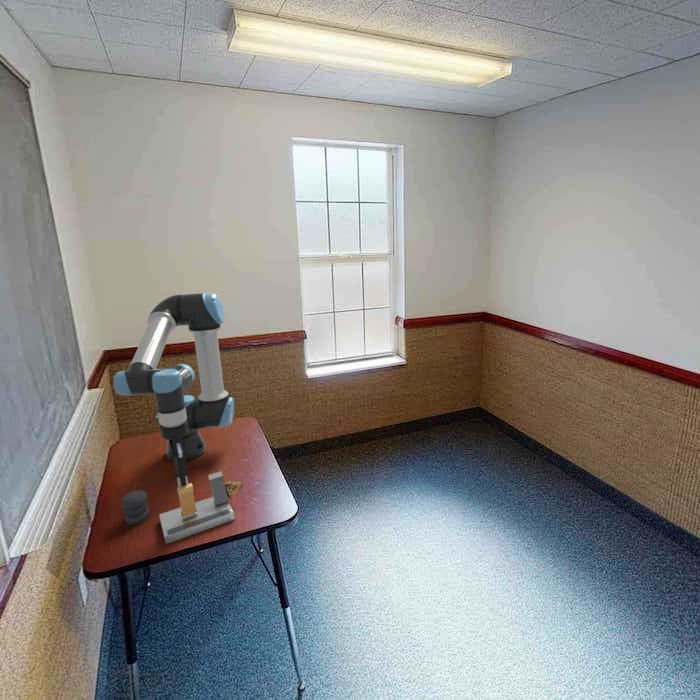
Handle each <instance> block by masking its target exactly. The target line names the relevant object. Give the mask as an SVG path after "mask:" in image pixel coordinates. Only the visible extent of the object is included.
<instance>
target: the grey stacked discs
mask: <svg viewBox="0 0 700 700" xmlns="http://www.w3.org/2000/svg"><path fill="white" fill-rule="evenodd" d="M120 502H121V503H120V504H121V507H122V510H123V511H124V512H123V513H124V514H123V517H124V521H125V524H126V525H128V526H136V525H139V524H142V523H145V522H146V521H147V520H148V519H149V518H150V516H151V513H150V508H149V505H148V503H147V502H148V499H147V492H146V491H145V490H134V491H131V492H128V493H127V494H125V495H123V496H122V497H121V499H120Z"/></svg>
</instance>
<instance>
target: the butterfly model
mask: <svg viewBox="0 0 700 700" xmlns="http://www.w3.org/2000/svg"><path fill="white" fill-rule="evenodd" d="M224 484H225V488H226V492H227V495H229V496H228V497H229V498H230V499H233V497H234V496H235V495H236V494H237V493H239V491H240V490H241V489H243V488H244V487H245V484H244V482H241V481H235V480H234V479H232V480H231V479H230V480H227V481H224ZM208 491H209V492H210V491H211V492H212V489H211V488H210V489H208Z"/></svg>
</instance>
